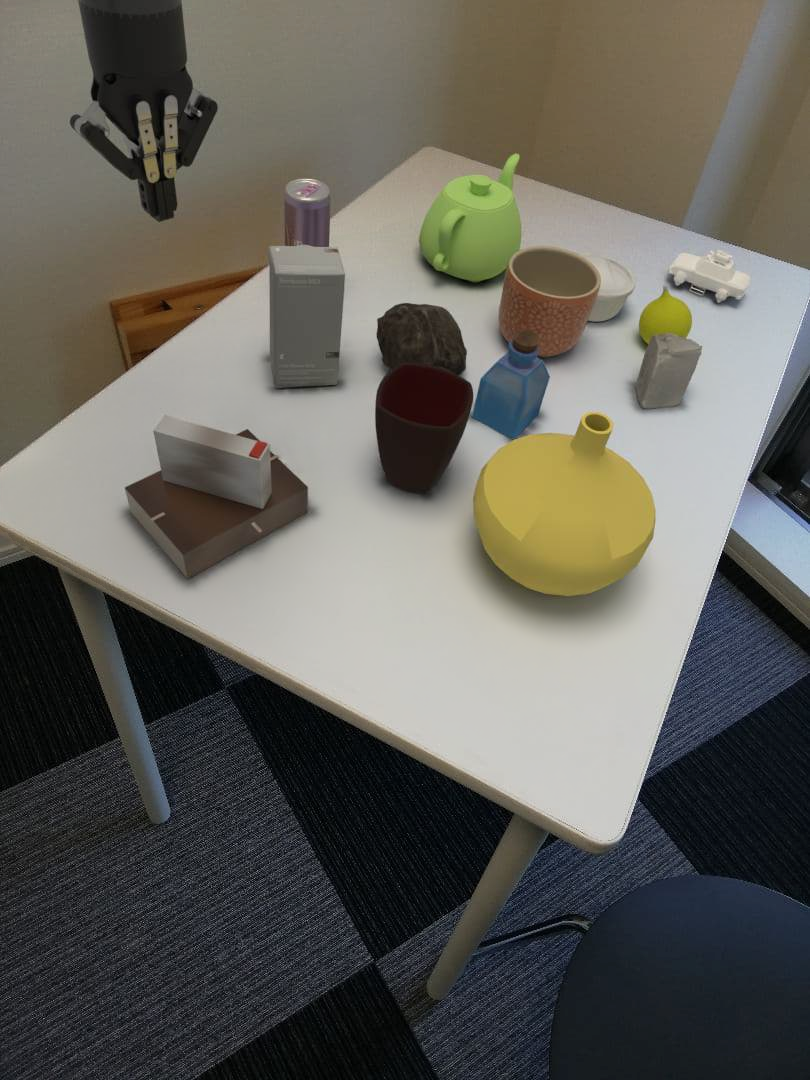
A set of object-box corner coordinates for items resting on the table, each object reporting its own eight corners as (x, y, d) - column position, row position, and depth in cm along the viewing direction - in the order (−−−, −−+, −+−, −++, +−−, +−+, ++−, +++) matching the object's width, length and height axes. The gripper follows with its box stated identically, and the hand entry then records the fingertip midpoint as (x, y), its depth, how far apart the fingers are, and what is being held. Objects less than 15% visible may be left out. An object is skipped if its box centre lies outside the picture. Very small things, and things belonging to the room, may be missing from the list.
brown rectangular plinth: (198, 593, 76) (194, 568, 73) (120, 501, 82) (112, 474, 79) (320, 523, 83) (321, 497, 80) (239, 443, 90) (237, 416, 86)
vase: (629, 640, 78) (706, 517, 63) (451, 604, 78) (486, 473, 63) (627, 508, 89) (691, 379, 75) (472, 477, 90) (506, 343, 75)
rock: (478, 385, 99) (478, 316, 92) (395, 405, 98) (388, 337, 90) (451, 344, 106) (450, 277, 99) (373, 362, 104) (366, 295, 97)
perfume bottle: (497, 393, 100) (516, 314, 91) (537, 415, 98) (562, 337, 89) (471, 417, 97) (489, 338, 87) (513, 440, 95) (536, 361, 86)
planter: (538, 380, 103) (559, 309, 94) (473, 332, 108) (488, 262, 100) (596, 348, 109) (621, 279, 100) (532, 304, 114) (551, 236, 106)
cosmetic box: (274, 390, 96) (270, 277, 84) (269, 354, 100) (264, 242, 88) (341, 386, 98) (347, 275, 86) (333, 351, 102) (337, 241, 90)
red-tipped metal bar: (163, 480, 79) (152, 428, 74) (173, 465, 81) (164, 413, 75) (263, 509, 78) (260, 458, 73) (271, 493, 80) (269, 442, 74)
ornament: (624, 330, 112) (647, 268, 105) (666, 327, 114) (693, 266, 106) (645, 361, 108) (671, 299, 100) (689, 357, 110) (718, 296, 102)
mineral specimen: (700, 397, 103) (716, 352, 96) (644, 419, 102) (656, 376, 95) (669, 362, 107) (682, 317, 100) (615, 383, 106) (624, 338, 99)
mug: (357, 490, 87) (364, 409, 78) (397, 415, 95) (407, 334, 86) (440, 516, 86) (457, 438, 76) (473, 438, 94) (491, 359, 85)
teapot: (463, 215, 129) (477, 134, 118) (542, 248, 124) (564, 167, 114) (391, 270, 116) (400, 184, 106) (477, 308, 112) (494, 223, 102)
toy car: (672, 267, 125) (688, 228, 120) (744, 294, 122) (764, 255, 117) (661, 284, 121) (677, 244, 116) (735, 312, 118) (755, 272, 113)
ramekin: (639, 315, 115) (651, 283, 111) (585, 335, 110) (596, 303, 106) (588, 276, 121) (599, 245, 116) (535, 294, 116) (544, 262, 112)
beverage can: (335, 290, 111) (339, 188, 99) (311, 308, 108) (312, 205, 96) (302, 274, 113) (302, 173, 101) (277, 292, 109) (274, 189, 98)
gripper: (70, 19, 53) (116, 254, 66) (232, -2, 59) (245, 215, 72) (20, -12, 56) (73, 218, 69) (179, -29, 63) (200, 183, 76)
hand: (161, 216), depth 71 cm, fingers closed
